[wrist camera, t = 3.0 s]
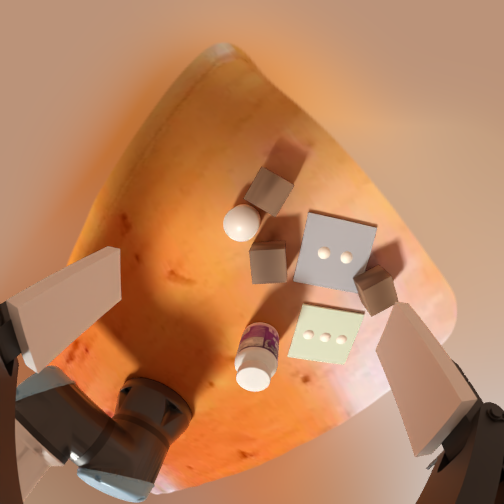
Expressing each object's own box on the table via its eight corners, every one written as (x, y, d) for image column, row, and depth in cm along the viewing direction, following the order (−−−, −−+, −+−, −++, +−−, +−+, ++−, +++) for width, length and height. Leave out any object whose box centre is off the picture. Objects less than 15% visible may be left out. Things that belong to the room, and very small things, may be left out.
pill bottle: (284, 346, 38) (281, 392, 29) (250, 354, 40) (240, 398, 30) (273, 316, 37) (268, 359, 28) (237, 325, 38) (223, 367, 29)
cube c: (361, 302, 35) (371, 316, 31) (352, 278, 34) (362, 291, 30) (386, 288, 34) (398, 302, 30) (378, 264, 33) (391, 275, 29)
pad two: (293, 280, 35) (293, 281, 35) (308, 212, 33) (308, 212, 32) (357, 292, 35) (358, 293, 34) (375, 227, 32) (376, 228, 32)
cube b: (276, 212, 33) (248, 195, 33) (293, 184, 32) (264, 167, 32) (275, 217, 30) (243, 198, 29) (294, 185, 28) (261, 166, 28)
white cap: (226, 232, 35) (221, 238, 32) (231, 201, 34) (226, 204, 31) (257, 238, 35) (254, 244, 32) (263, 207, 33) (261, 210, 31)
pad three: (287, 355, 39) (287, 356, 38) (302, 303, 36) (302, 304, 36) (343, 363, 38) (344, 364, 38) (363, 313, 36) (364, 314, 35)
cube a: (256, 272, 36) (252, 284, 32) (253, 242, 35) (249, 251, 31) (287, 270, 35) (286, 282, 31) (285, 240, 34) (284, 248, 30)
